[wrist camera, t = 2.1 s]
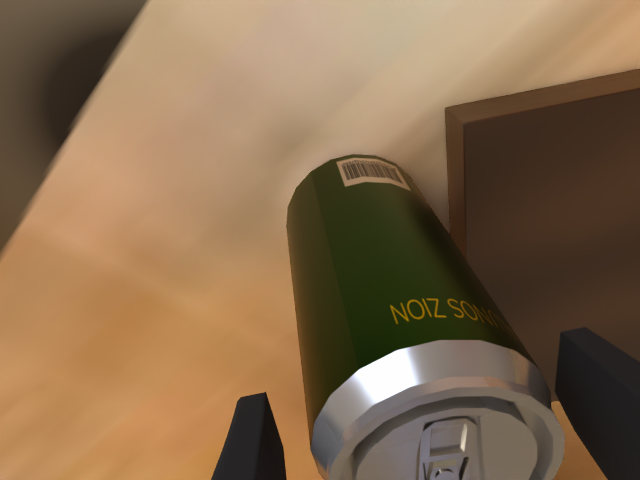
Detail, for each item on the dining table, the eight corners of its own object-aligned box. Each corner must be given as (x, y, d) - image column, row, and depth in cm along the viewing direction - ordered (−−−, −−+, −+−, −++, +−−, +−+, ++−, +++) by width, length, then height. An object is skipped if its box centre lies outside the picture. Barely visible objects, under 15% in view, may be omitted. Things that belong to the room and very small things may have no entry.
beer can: (278, 154, 19) (305, 396, 9) (419, 140, 20) (603, 359, 9) (291, 272, 22) (323, 565, 12) (414, 259, 22) (552, 531, 12)
